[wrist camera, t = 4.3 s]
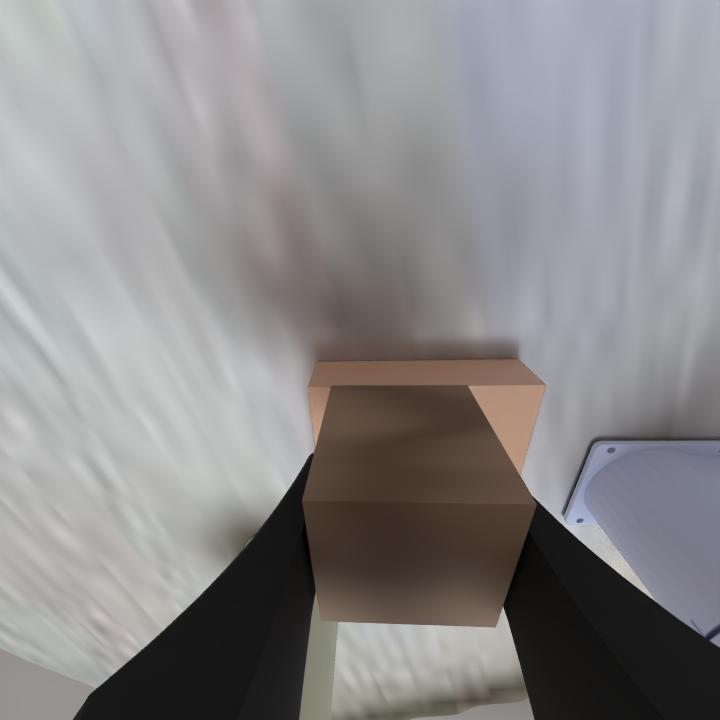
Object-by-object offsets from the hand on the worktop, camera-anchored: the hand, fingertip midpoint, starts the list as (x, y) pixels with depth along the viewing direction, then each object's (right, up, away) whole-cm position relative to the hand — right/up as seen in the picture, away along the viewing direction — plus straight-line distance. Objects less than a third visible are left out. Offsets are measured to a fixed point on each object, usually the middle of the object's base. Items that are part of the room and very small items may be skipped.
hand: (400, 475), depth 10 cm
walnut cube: (0, +1, +1) cm, 2 cm away
